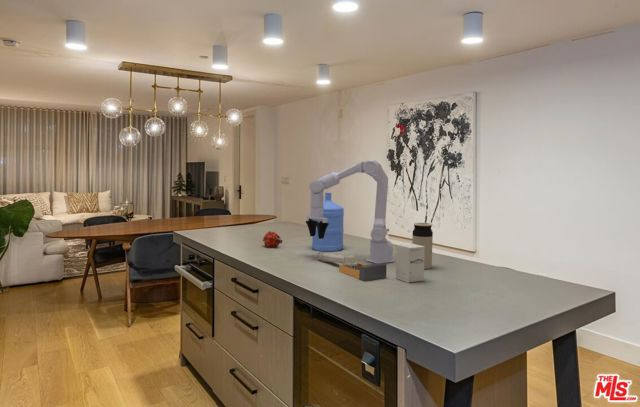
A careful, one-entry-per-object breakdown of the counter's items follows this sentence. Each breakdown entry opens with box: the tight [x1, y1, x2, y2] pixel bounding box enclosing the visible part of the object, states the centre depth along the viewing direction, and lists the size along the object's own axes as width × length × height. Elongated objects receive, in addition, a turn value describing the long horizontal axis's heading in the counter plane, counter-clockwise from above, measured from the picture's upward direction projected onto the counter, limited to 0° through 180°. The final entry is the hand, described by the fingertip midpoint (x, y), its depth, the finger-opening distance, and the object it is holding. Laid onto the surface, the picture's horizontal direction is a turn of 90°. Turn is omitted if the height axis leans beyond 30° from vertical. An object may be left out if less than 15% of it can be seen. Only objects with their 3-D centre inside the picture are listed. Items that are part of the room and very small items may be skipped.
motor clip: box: [338, 262, 387, 282], centre depth 165 cm, size 10×17×5 cm, turn 30°
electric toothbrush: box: [317, 251, 359, 270], centre depth 180 cm, size 5×7×25 cm
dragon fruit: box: [262, 230, 283, 249], centre depth 221 cm, size 8×8×12 cm
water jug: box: [311, 192, 345, 253], centre depth 216 cm, size 16×16×28 cm
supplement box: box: [395, 243, 425, 284], centre depth 157 cm, size 7×7×13 cm
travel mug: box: [411, 222, 434, 270], centre depth 177 cm, size 8×8×18 cm
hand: (316, 237), depth 194 cm, fingers open, 7 cm apart
